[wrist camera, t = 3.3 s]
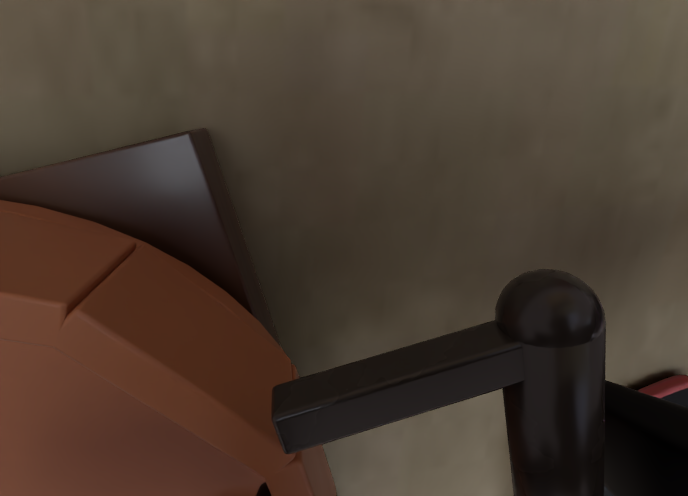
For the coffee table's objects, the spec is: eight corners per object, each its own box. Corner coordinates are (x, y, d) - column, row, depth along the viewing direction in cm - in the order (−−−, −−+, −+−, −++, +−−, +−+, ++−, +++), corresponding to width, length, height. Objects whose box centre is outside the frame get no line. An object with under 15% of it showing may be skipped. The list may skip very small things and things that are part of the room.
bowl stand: (177, 39, 8) (124, -3, 5) (349, 545, 14) (370, 662, 11) (-570, 206, 7) (-1191, 273, 4) (-47, 685, 13) (-145, 860, 10)
